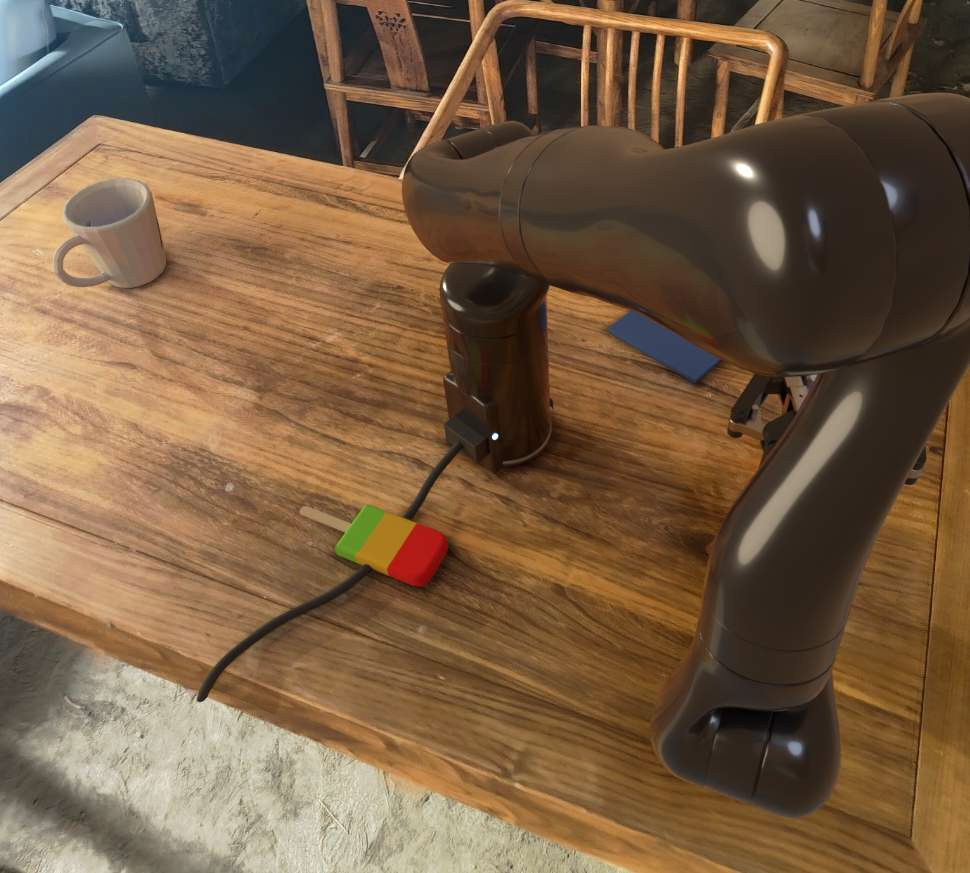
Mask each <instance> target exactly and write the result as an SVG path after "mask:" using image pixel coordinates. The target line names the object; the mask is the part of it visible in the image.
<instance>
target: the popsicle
mask: <svg viewBox="0 0 970 873" xmlns="http://www.w3.org/2000/svg"><path fill="white" fill-rule="evenodd" d="M299 514H300V515H301V516H302V517H305V518H308V519H310V520H312V521H315V522H317V523H320V524H322V525H325V526H327V527H330V528H332V529H335V530H338V531H340V532H342V533H344V534H343V535H342V537H341V538H340V539H339V541H338V542H337V544H336V545H335V546H334V551H335V554H336V555H337V556H339V557H341V558H344V559H346V560H348V561H351V562H354V563H356V564H358V565H361V566H363V565H364V564H368V565H369V566H371V568H372V570H373V571H375V572H377V573H380V574H383V575H385V576H387V577H390V578H392V579H395V580H397V581H400V582H403V583H405V584H407V585H409V586H412V587H423V586H426V585H427V584H428V583H430V581H431V580H432V578H433V577H434V576H435V574H436V572H437V571H438V569H439V567H440V566H441V564H442V562H443V561H444V559H445V557H446V556H447V554H448V550H449V543H448V540H447V537H446V536H445V535H444V533H442V532H441V531H439V530H436V529H434V528H432V527H429V526H426V525H423V524H422V523H421V524H420V523H418V522H415V521H412V520H411V521H410V520H408V519H405V518H402V517H403V516H399V515H397V514H395V513H392V512H389V511H387V510H383V509H381V508H379V507H376V506H373V505H370V504H368V503H367V504H365V505H364V506H362V508H361V510H360V511H359V512H358V514H357V515H356V516H355V518H354V520H353V521H352V522H351V523H350V522H348V521H346V520H343V519H341V518H338V517H336V516H333V515H330V514H329V513H328V514H327V513H326V512H323V511H321V510H318V509H315V508H312V507H310V506H307V505H304V506H303V505H302V507H301V508H300V509H299Z"/></svg>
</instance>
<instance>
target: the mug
mask: <svg viewBox="0 0 970 873" xmlns="http://www.w3.org/2000/svg"><path fill="white" fill-rule="evenodd" d="M61 217H62V220H63V221H64V223H65V225H66V227H67V228H68V229H69V231H70V233H71V234H72V235H73V236H72V237H69V238H68V239H66V240H64V241H63V242H62V243H61V244H59V246H58V247H57V248H56V249H55V251H54V253H53V255H52V256H53V257H52V271H53V273H54V274H55V276H56V277H57V278H58V280H59V281H61V282H62V283H63V284H65V285H67V286H70V287H75V288H91V287H95V286H99V285H102V284H105V283H107V282H108V283H109V284H111V285H113V286H114V287H117V288H121V289H133V288H137V287H141V286H144V285H147V284H150V283H151V282H153V281H154V280H156V279H158V278H159V277H160V275H161V274H163V273H164V270H165V269H166V266H167V256H166V251H165V246H164V242H163V237H162V232H161V228H160V224H159V219H158V215H157V211H156V206H155V201H154V197H153V193H152V191H151V189H150V188H149V186H148V184H147V183H144V182H143V181H141V180H139V179H135V178H131V177H113V178H107V179H102V180H99V181H96V182H94V183H91V184H88V185H86V186H85V187H83V188H81V189H79V190H78V191H76V192H75V193H74V194H73V195H72V196H70V197H69V198H68V199H67V201H66V202H65V203H64V205H63V207H62V212H61ZM78 246H81V248H83V250H84V251H85V253H86V254H87V255H88V257H89V258H90V259H91V261H92V262H93V264H94V265H95V266H96V268H97V269H98V271H99V272H100V274H99V273H98V274H97V275H94V276H90V277H76V276H72V275H70V274H69V273H67V271H66V270H65V269H64V259H65V257H66V255H67V254H68V253H69V252H70V251H71V250H73V249H74V248H75V247H78Z"/></svg>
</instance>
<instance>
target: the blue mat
mask: <svg viewBox="0 0 970 873" xmlns="http://www.w3.org/2000/svg"><path fill="white" fill-rule="evenodd" d="M607 333H609V334H611V335H612V336H614V337H615V338H617V339H619V340H620V341H623V342H624V343H625V344H627V345H629V346H631V347H633V348H634V349H636V350H637V351H639V352H641V353H642V354H644V355H646V356H647V357H649V358H651V359H653V360H654V361H656V362H657V363H659V364H661V365H663V366H664V367H666V368H667V369H669V370H671V371H673V372H675V373H677V374H678V375H679V376H681V377H683V378H685V379H686V380H688V381H690V382H692V383H693V384H695V385H696V384H697V383H698V382H700V381H701V380H702V379H703V378H704V377H705V376H707V375H708V374H709V373H710V372H711V371H712V370H713V369H715V367H717V366H718V365H719V364H721V362H722V361H723V360H721V359H719V358H717V357H715V356H713V355H711V354H709V353H707V352H706V351H704V350H702V349H701V348H699V347H697V346H695V345H694V344H692V343H690V342H689V341H687V340H685V339H683V338H682V337H680V336H678V335H676V334H675V333H673V332H671V331H669V330H668V329H666V328H664V327H663V326H661V325H659V324H657V323H656V322H654V321H652V320H650V319H648V318H646V317H645V316H643V315H641V314H639V313H636V312H634V311H631V310H628V312H627V313H625V314H624V315H623V316H622V317H620V318H619V319H618V320H617V321H615V322H614V323H613V324H611V325H610V326H609V327H608V328H607Z"/></svg>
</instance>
